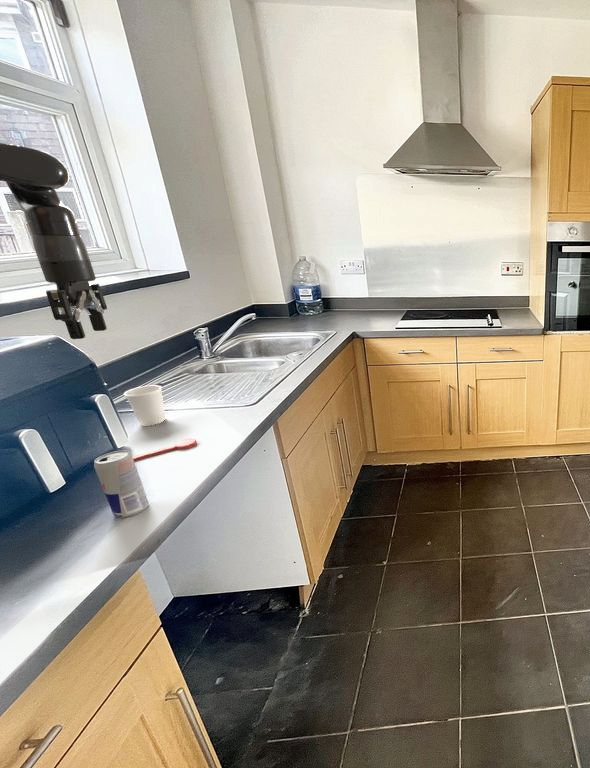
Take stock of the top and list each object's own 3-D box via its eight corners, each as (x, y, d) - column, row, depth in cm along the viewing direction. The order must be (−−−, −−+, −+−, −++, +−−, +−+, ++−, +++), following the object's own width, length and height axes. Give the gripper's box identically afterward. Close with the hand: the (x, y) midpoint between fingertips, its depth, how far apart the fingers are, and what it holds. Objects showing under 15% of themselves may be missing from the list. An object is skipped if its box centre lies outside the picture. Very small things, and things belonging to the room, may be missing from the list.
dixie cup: (176, 420, 122) (166, 388, 119) (140, 430, 116) (129, 397, 112) (164, 413, 126) (155, 383, 123) (130, 423, 120) (118, 391, 117)
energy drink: (119, 506, 83) (98, 453, 79) (152, 498, 86) (134, 447, 82) (109, 521, 79) (87, 466, 75) (145, 513, 81) (125, 459, 77)
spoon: (115, 468, 97) (114, 465, 96) (114, 462, 100) (112, 458, 99) (198, 445, 108) (197, 442, 107) (194, 439, 110) (193, 436, 110)
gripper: (62, 257, 92) (87, 329, 97) (15, 260, 79) (46, 342, 84) (105, 256, 94) (126, 327, 99) (66, 259, 81) (93, 340, 87)
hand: (90, 334), depth 92 cm, fingers open, 8 cm apart
